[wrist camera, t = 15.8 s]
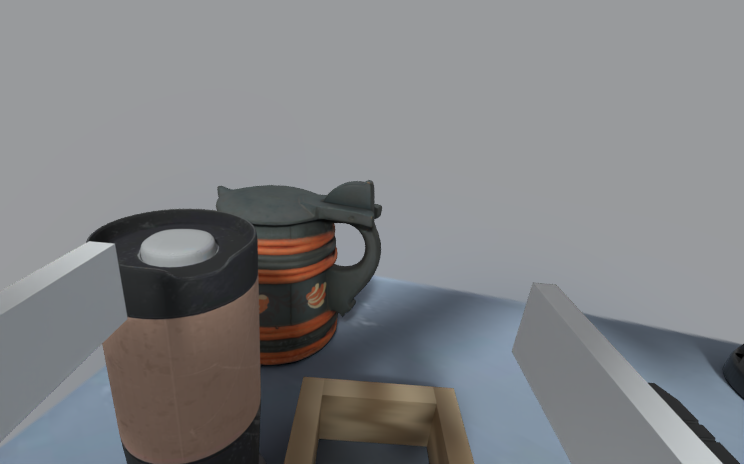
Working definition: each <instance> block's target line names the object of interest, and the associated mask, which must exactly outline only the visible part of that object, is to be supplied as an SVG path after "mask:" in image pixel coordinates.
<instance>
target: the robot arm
mask: <svg viewBox="0 0 744 464" xmlns="http://www.w3.org/2000/svg"><path fill="white" fill-rule="evenodd" d="M127 319H128V318H127V312H126V306H125V300H124V294H123V289H122V283H121V277H120V271H119V265H118V259H117V253H116V247H115V244H113V243H102V242H91V241H89V242H87V243H85V244H83V245H82V246H80V247H78V248H76V249H75V250H73V251H71V252H69V253H67V254H65V255H64V256H62V257H60V258H58V259H57V260H55V261H53V262H51V263H49V264H48V265H46V266H44V267H43V268H41V269H39V270H37V271H35V272H33V273H32V274H30V275H28V276H26V277H24V278H22V279H21V280H19V281H17V282H15V283H14V284H12V285H10V286H8V287H6V288H5V289H3V290H1V291H0V442H1V441H2V440H3V439H4V438H5V437H6V436H7V435H8V434H9V433H10V432H11V431H12V430H13V429H14V428H15V427H16V426H17V425H18V424H20V423H21V422H22V421H23V420H24V419H25V418H26V417H27V416H28V415H29V414H30V413H31V412H32V411H33V410H34V409H35V408H36V407H37V406H38V405H39V404H40V403H41V402H42V401H43V400H44V399H45V398H46V397H47V396H48V395H49V394H51V392H53V391H54V390H55V389H56V388H57V387H58V386H59V385H60V384H61V383H62V382H63V381H64V380H65V379H66V378H67V377H68V376H69V375H70V374H71V373H72V372H73V371H74V370H75V369H76V368H77V367H78V366H79V365H81V364H82V363H83V362H84V361H85V360H86V359H87V358H88V357H89V356H90V355H91V354H92V353H93V352H94V351H95V350H96V349H97V348H98V347H99V346H100V345H101V344H102V343H103V342H104V341H105V340H106V339H107V338H108V337H109V336H110V335H112V334H113V333H114V332H115V331H116V330H117V329H118V328H119V327H120V326H121V325H122V324H123V323H124V322H125V321H126V320H127ZM512 353H513V355H514V356H515V358H516V360H517V362H518V364H519V366H520V368H521V370H522V371H523V373H524V375H525V377H526V379H527V381H528V383H529V385H530V386H531V388H532V390H533V392H534V394H535V396H536V398H537V400H538V401H539V403H540V405H541V407H542V409H543V411H544V413H545V415H546V417H547V418H548V420H549V422H550V424H551V426H552V428H553V430H554V432H555V433H556V435H557V437H558V439H559V441H560V443H561V445H562V447H563V448H564V450H565V452H566V454H567V456H568V458H569V460H570V462H571V463H572V464H740V463H739V462H738V461H737V460H736V459H735V458H734V457H733V456H732V455H731V454H730V453H729V452H728V451H727V450H726V449H725V448H724V446H723V445H722V444H721V443H720V442H716V441H715V437H714V436H713V435H712V434H711V433H710V432H709V431H708V430H707V429H706V428H705V427H704V426H703V425H699V423H698V420H697V419H696V418H695V417H694V416H693V415H692V414H691V413H690V412H689V411H688V410H687V409H686V408H685V407H684V406H683V405H682V404H681V403H680V401H678V400H677V399H676V398H674V397H673V396H671V395H670V394H669V393H667V392H666V391H664V390H663V389H662V388H660V387H659V386H657V385H656V384H655V383H647V382H646V381H645V380H644V379H643V378H642V376H641V375H640V374H639V373H638V372H637V371H636V370H635V369H634V368H633V367H632V366H631V365H630V364H629V363H628V361H627V360H626V359H625V358H624V357H623V356H622V355H621V354H620V353H619V352H618V351H617V350H616V349H615V347H614V346H613V345H612V344H611V343H610V342H609V341H608V340H607V339H606V338H605V337H604V336H603V335H602V334H601V332H600V331H599V330H598V329H597V328H596V327H595V326H594V325H593V324H592V323H591V322H590V321H589V320H588V318H587V317H586V316H585V315H584V314H583V313H582V312H581V311H580V310H579V309H578V308H577V307H576V306H575V305H574V303H573V302H572V301H571V300H570V299H569V298H568V297H567V296H566V295H565V294H564V293H563V292H562V291H561V289H559V287H558V286H557V285H553V284H542V283H533V285H532V288H531V291H530V294H529V297H528V301H527V304H526V307H525V310H524V313H523V317H522V320H521V323H520V326H519V329H518V333H517V336H516V339H515V342H514V345H513V349H512ZM723 371H724V375H725V377H726V379H727V380H728V382H729V383H730V385H731V386H732V387H733V388H734V389H735V390H736V391H737V392H738V393H739V394H740V395H741V396H742V397H743V398H744V344H743V345H741V346H740V347H739V348H737V349H736V350H734V351H733V352H732V354H731V355H730V357H729V359H728V360H727V362H726V364H725V365H724V368H723Z"/></svg>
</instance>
